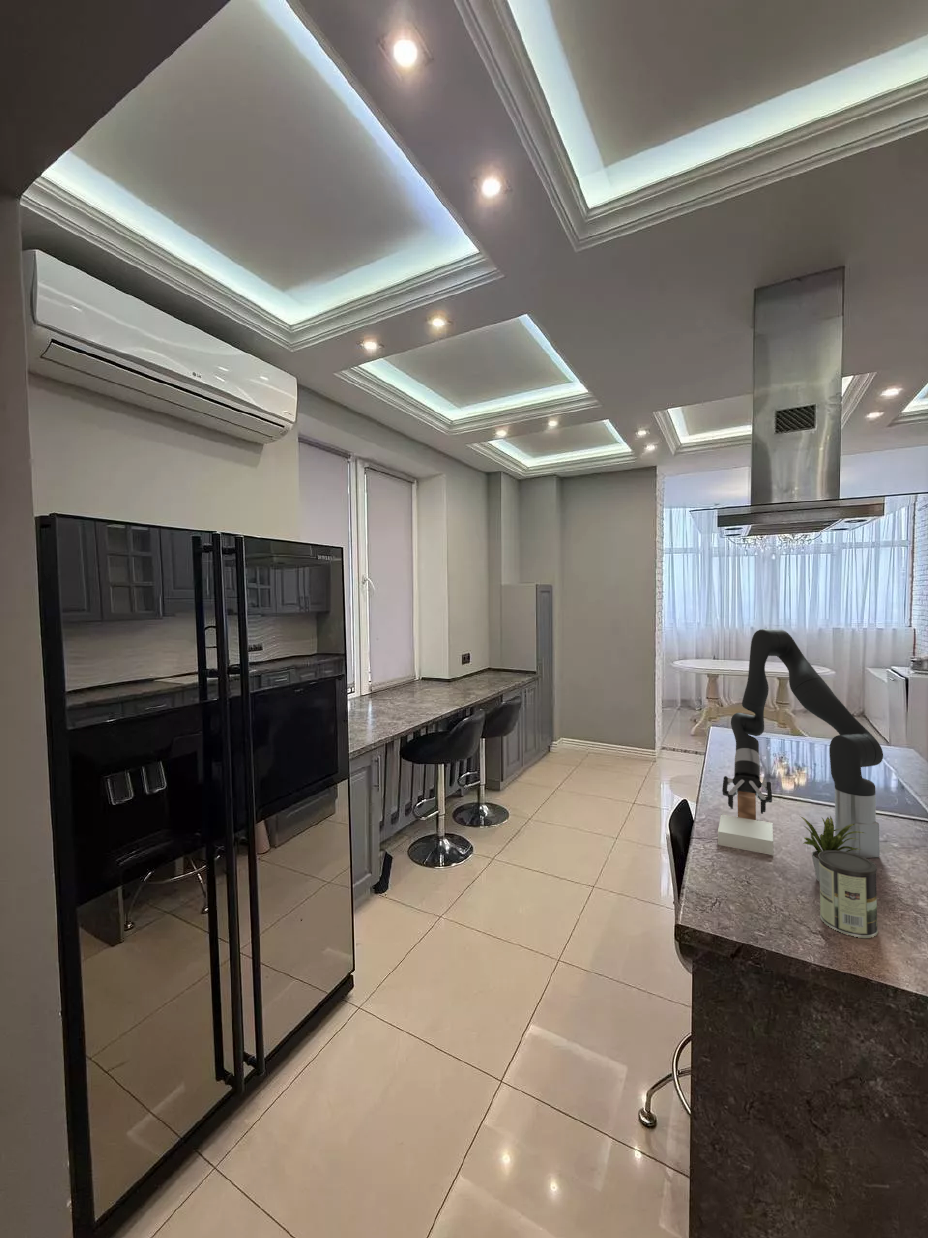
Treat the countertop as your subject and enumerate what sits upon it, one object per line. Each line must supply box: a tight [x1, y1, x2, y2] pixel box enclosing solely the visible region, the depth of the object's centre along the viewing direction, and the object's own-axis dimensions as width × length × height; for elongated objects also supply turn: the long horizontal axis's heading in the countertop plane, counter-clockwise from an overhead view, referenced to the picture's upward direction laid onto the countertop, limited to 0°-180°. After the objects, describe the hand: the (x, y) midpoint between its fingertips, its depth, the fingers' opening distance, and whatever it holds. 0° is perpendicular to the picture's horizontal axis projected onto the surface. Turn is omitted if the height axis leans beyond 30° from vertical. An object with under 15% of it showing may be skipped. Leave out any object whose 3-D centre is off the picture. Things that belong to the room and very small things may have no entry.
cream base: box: [717, 814, 774, 856], centre depth 152 cm, size 14×14×4 cm
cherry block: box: [736, 791, 757, 820], centre depth 164 cm, size 5×5×10 cm
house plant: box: [799, 815, 864, 883], centre depth 127 cm, size 14×14×16 cm
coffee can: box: [818, 850, 879, 939], centre depth 111 cm, size 10×10×14 cm
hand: (746, 810), depth 162 cm, fingers open, 8 cm apart
